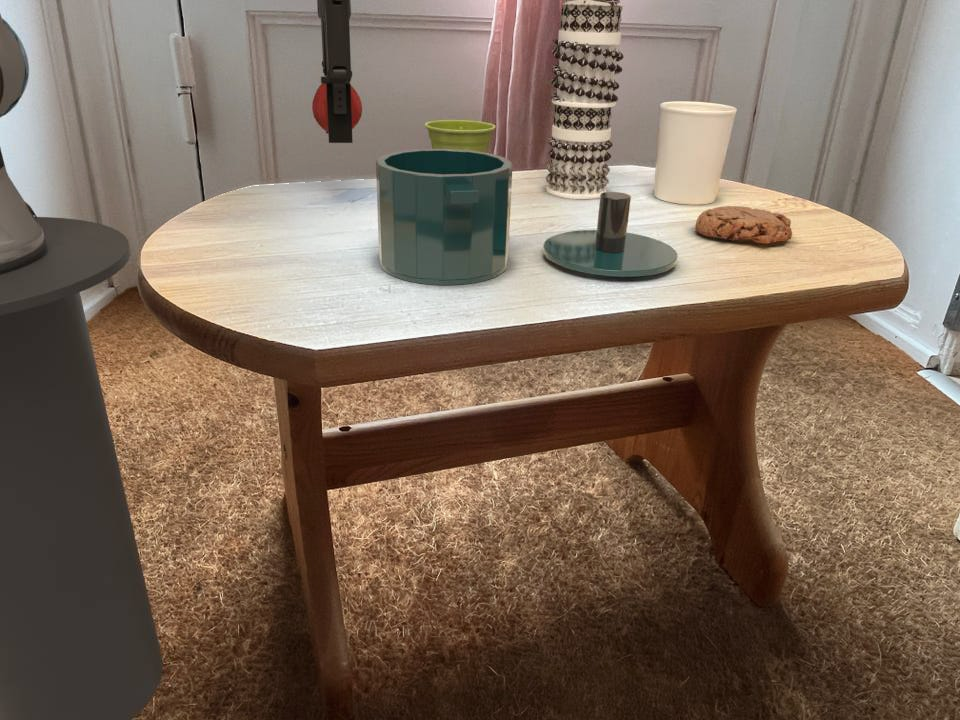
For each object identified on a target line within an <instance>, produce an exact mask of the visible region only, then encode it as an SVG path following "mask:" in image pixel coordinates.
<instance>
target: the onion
mask: <svg viewBox="0 0 960 720" xmlns="http://www.w3.org/2000/svg"><path fill="white" fill-rule="evenodd" d="M311 111H312V115H313V118H314V120H315V122H316V123H317V125H318V126H319V127H321V129H323V130H324V131H325V133H326V132H328V113H327V91H326V83H320V85H319V86H318V88H317V89H316V91H315V94H314V95H313V99H312V105H311ZM351 111H352V130H354V128H355V127H356V126H357V125H358V124H359V122H360V120H361V118H362V114H363V104H362V100H361V97H360V95H359V93H358V92H357V90H356V89H355V88H354V87H353V85H351Z"/></svg>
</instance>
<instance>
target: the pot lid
mask: <svg viewBox="0 0 960 720" xmlns="http://www.w3.org/2000/svg"><path fill="white" fill-rule="evenodd" d="M631 201H632V196H631V195H630V194H628V193H624V192H620V191H619V192H618V191H607V192H605V193H602V194H601V195H600V198H599V204H598V205H599V206H598V213H597V215H598V216H597V225H596V229H584V230H583V229H582V230H572V231H566V232H561V233H557V234H555V235H552V236H549V237H548V238H547V239H546V240H545V241H544V243H543V245H542V246H543V247H542V252H543V255H544V256H545V257H546V258H547V259H548V261H550V262H552V263H554V264H556V265H558V266H560V267H563V268H565V269H569V270H572V271H575V272H580V273H584V274H590V275H598V276H606V277H617V278H618V277H622V278H623V277H625V278H626V277H627V278H629V277H631V278H632V277H646V276H652V275H653V276H654V275H657V274H661V273H665V272H668V271H669V270H671V269H673V268H674V267H675V266H676V264H677V262H678V252H677V250H676V249H675V248H674V247H672V246H670V245H669V244H667V243H666V242H664V241H661V240H659V239H656V238H653V237H650V236H646V235H642V234H637V233H633V232H628V224H629V217H630V215H629V214H630V210H631V209H630V208H631Z"/></svg>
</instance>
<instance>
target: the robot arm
mask: <svg viewBox="0 0 960 720" xmlns="http://www.w3.org/2000/svg"><path fill="white" fill-rule="evenodd" d="M316 4H317V5H316V7H317V16H318V18H319V19H320V28H321V29H320V31H321V52H322V61H321V66H322V73H323V75H324V76H320V84H322V83H326V91H327V113H328V132H326V131H325V134H328V143H329V144H353V129H352V111H351V86H352V84H351V81H352V78H353V71H352V61H351V34H350V32H351V31H350V30H351V29H350V19H351V17H352V3H351V0H316ZM29 78H30V64H29V59H28V55H27V51H26V48H25V46H24V44H23V42H22V40H21V38H20V37H19V35H18V34H17V33H16V31H15V30H14V29H13V28H12V26H11V25H10V24H9V23H8V21H7V20H6V19H4V18H3V17H2V15H1V13H0V118H2V117H4V116H6V115H7V114H8V113H10V112H11V111H12V110H13V109H14V108H15V107H16V106H17V104H18V103H19V102H20V100H21V98H22V97H23V95H24V93H25V91H26V88H27V85H28V82H29ZM35 217H36V218H37V217H38V216H37V214H36V213H35V211H34V210H33V208H32V207H31V205H29V203H28V202H26V201H25V200H24V197H22V195H21V193H20V191H19V190H18V189H17V187H16V185H15V184H14V183H13V181H12V179H11V178H10V176H9V173H8V171H7V167H6V164H5V161H4V157H3V153H2V148H1V147H0V274H3V273H7V272H10V271H13V270H16V269H19V268H22V267H24V266H27V265H29V264H31V263H33V262H35V261H37V260H38V259H40V258H41V257H42V256H43V255H45V253H46V252H47V245H46V241H45V237H44V233H43V229H42V228H41V227H40V225H39V223H38V222H37V220H36V218H35ZM37 219H38V218H37ZM38 220H39V219H38Z"/></svg>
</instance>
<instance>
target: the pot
mask: <svg viewBox="0 0 960 720" xmlns="http://www.w3.org/2000/svg"><path fill="white" fill-rule="evenodd" d="M513 165H514V163H513V162H512V161H511V160H509V159H508V158H506V157H505V156H501V155H497V154H493V153H490V152H487V153H484V152H477V151H470V150H455V149H432V148H419V149H410V150H409V149H408V150H398V151H394V152H390V153H386V154H383V155H381V156H380V157H378V158H376V159H375V167H376V168H375V171H376V172H375V174H376V175H375V177H376V204H377V205H376V207H377V209H376V210H377V234H378V235H377V236H378V238H377V239H378V257H379V264H380V265H379V266H380V268H381V269H382V270H383V271H384V272H385V273H386V274H388V275H389V276H392V277H395V278H397V279H400V280H403V281H407V282H412V283H416V284H423V285H432V286H433V285H435V286H455V285H456V286H459V285H468V284H475V283H476V284H477V283H480V282H484V281H488V280H491V279H494V278H496V277H498V276H500V275H501V274H503V273H504V272H505V271H506V269H507V267H508V261H509V249H510V229H511V228H510V227H511V207H512V206H511V205H512V187H513V186H512V185H513V167H514V166H513Z"/></svg>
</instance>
